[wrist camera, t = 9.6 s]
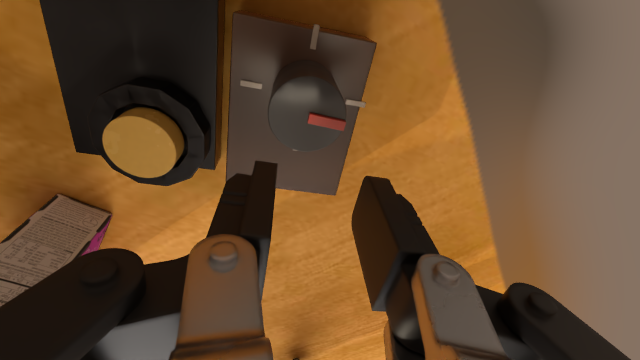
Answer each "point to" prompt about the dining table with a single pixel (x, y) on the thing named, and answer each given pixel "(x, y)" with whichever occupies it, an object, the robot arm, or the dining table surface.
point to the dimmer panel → (256, 86)
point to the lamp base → (141, 71)
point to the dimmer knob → (306, 107)
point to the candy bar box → (49, 243)
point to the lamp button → (143, 142)
